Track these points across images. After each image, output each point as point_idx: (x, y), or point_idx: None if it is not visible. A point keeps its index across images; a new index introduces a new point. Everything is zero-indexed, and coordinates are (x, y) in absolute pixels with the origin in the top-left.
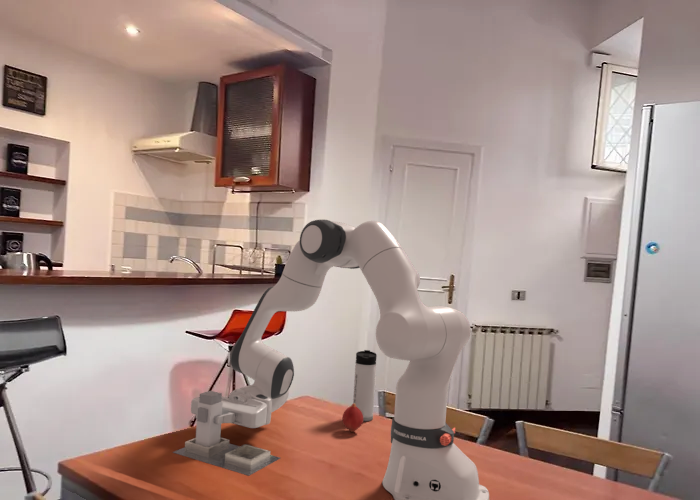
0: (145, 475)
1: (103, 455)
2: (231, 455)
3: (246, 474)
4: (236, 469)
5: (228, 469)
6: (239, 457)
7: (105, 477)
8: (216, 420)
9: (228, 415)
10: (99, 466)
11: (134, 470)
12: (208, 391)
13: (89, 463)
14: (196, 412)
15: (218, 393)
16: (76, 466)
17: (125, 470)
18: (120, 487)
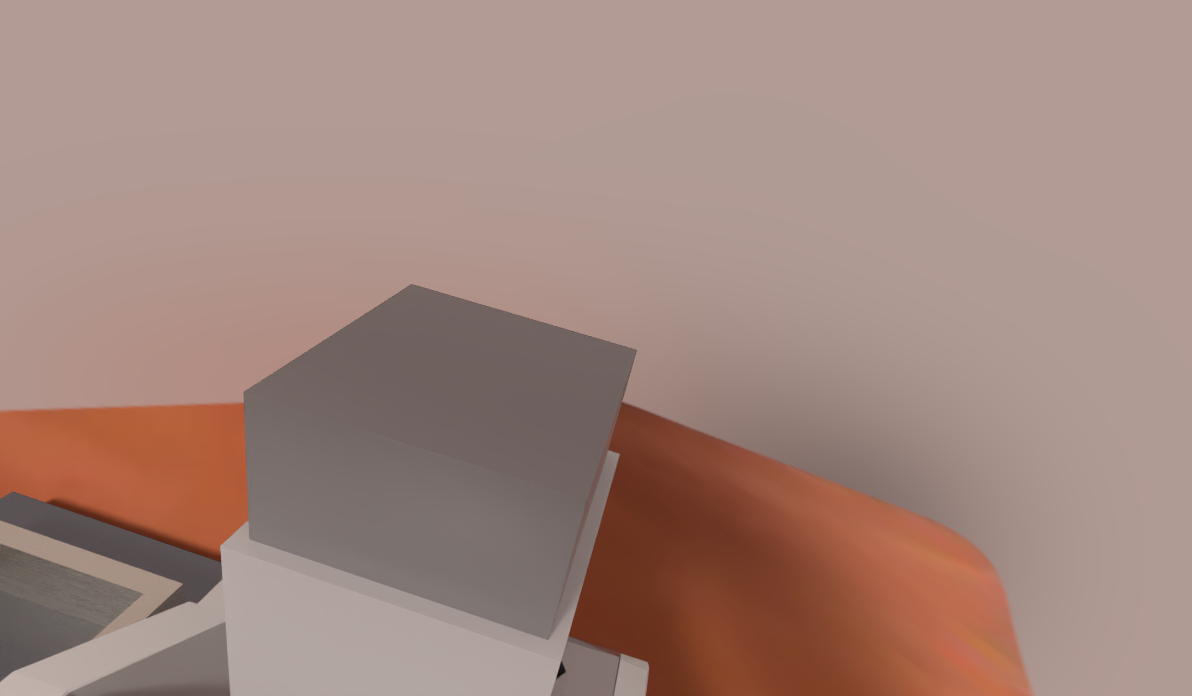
0: (610, 494)
1: (963, 637)
2: (124, 566)
3: (28, 501)
4: (96, 548)
5: (162, 542)
6: (51, 539)
7: (729, 465)
8: None
9: (97, 644)
10: (840, 533)
11: (688, 524)
12: (589, 452)
13: (901, 549)
14: (647, 663)
15: (326, 380)
16: (903, 520)
17: (720, 519)
18: (623, 420)
